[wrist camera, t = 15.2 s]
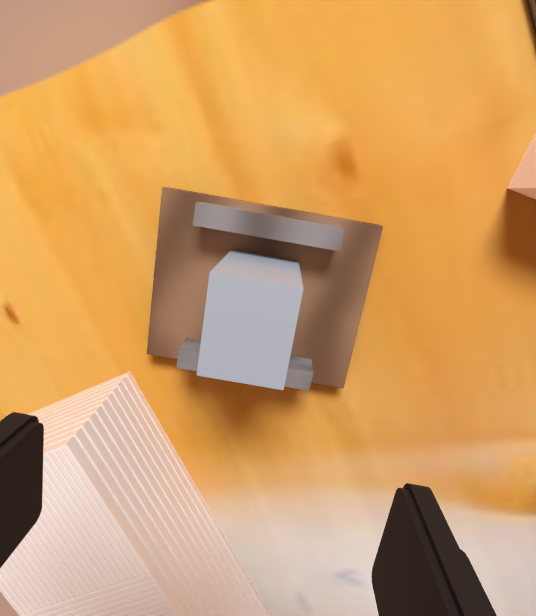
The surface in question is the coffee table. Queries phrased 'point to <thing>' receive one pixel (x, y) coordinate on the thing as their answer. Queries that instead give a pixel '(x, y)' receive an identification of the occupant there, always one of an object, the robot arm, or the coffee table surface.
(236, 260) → the slate block
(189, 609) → the stack of papers
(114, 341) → the coffee table surface
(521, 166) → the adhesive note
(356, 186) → the coffee table surface
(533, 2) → the phone
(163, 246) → the display stand
